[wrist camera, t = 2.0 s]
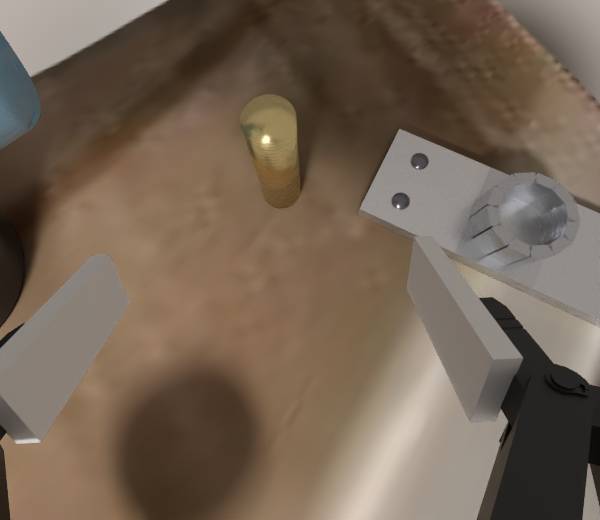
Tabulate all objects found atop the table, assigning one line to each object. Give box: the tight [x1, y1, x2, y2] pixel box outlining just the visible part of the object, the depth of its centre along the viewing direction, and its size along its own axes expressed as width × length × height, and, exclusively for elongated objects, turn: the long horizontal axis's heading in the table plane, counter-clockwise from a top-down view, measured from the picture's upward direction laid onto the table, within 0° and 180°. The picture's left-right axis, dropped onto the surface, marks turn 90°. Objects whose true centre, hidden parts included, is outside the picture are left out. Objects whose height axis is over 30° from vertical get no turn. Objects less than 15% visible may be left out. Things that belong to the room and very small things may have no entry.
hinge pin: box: [240, 94, 300, 208], centre depth 27 cm, size 4×4×11 cm
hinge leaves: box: [357, 129, 600, 327], centre depth 28 cm, size 25×9×4 cm, turn 63°
